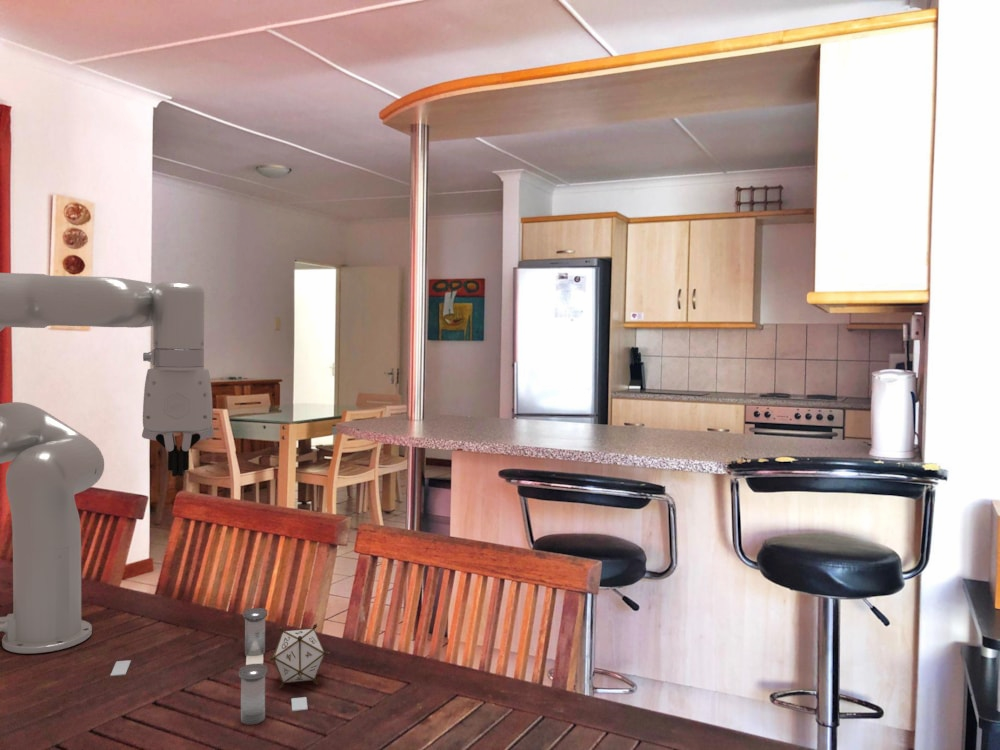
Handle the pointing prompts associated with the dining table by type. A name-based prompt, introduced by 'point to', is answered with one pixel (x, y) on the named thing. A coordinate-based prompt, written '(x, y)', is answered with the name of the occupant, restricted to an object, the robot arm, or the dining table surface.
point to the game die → (298, 655)
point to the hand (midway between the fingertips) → (178, 474)
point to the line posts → (253, 668)
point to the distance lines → (297, 703)
